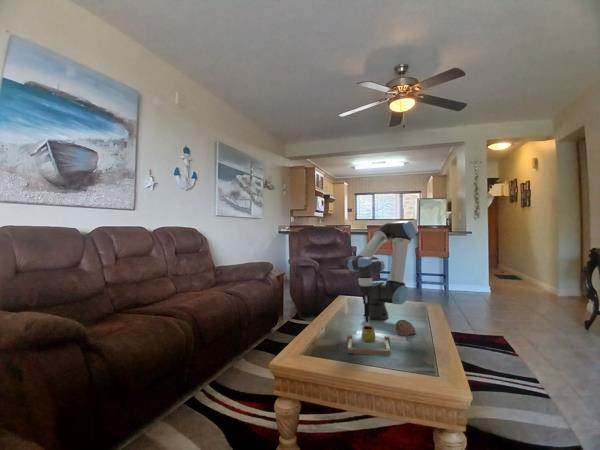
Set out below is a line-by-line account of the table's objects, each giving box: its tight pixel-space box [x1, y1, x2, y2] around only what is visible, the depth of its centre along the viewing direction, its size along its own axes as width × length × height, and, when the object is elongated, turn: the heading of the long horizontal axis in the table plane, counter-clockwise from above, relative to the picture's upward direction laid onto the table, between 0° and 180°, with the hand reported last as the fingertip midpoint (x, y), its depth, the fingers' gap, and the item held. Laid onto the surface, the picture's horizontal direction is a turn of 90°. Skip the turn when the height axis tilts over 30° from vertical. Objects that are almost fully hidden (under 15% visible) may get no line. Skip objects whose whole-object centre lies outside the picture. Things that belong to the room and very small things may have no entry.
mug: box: [361, 324, 376, 343], centre depth 158 cm, size 12×7×7 cm, turn 175°
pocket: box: [346, 334, 391, 356], centre depth 145 cm, size 16×21×3 cm
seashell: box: [394, 319, 417, 336], centre depth 163 cm, size 10×9×10 cm
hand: (367, 327), depth 168 cm, fingers closed
